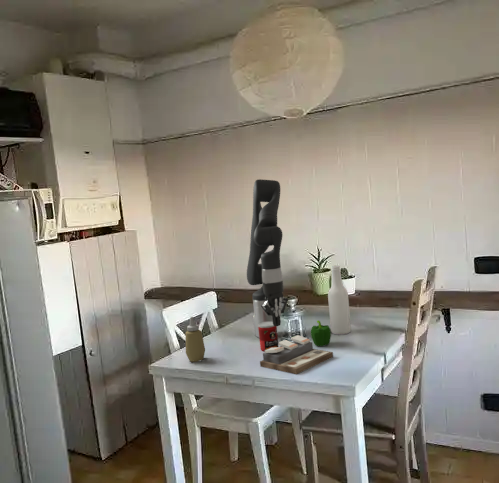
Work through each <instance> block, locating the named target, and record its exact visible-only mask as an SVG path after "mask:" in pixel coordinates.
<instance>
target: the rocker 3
mask: <svg viewBox="0 0 499 483" xmlns="http://www.w3.org/2000/svg"><path fill="white" fill-rule="evenodd" d="M290 341H291V342H293V341H295V342H297V344H298V343H300V344H303V345H304V344H307V343H309V342H311V339H309V338H307V337H304V336H301V335H298V334H297V335H295V336H292V337H291V338H290Z"/></svg>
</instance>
